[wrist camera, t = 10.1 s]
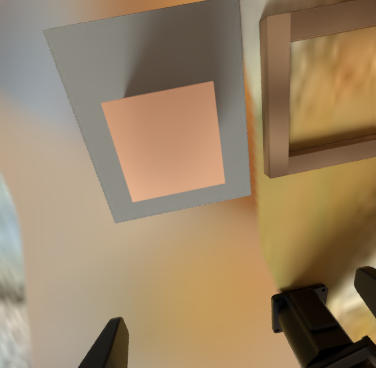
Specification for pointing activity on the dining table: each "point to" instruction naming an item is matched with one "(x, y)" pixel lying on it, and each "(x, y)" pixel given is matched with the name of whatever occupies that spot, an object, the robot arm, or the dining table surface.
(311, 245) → the dining table surface
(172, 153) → the block
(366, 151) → the holder
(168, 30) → the mat
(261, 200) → the dining table surface
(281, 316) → the robot arm
